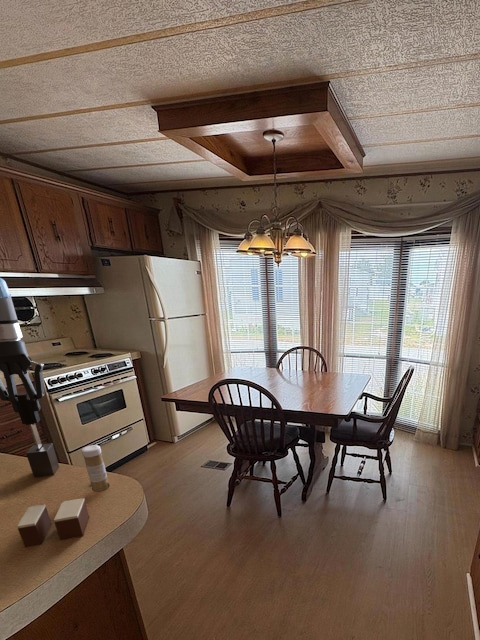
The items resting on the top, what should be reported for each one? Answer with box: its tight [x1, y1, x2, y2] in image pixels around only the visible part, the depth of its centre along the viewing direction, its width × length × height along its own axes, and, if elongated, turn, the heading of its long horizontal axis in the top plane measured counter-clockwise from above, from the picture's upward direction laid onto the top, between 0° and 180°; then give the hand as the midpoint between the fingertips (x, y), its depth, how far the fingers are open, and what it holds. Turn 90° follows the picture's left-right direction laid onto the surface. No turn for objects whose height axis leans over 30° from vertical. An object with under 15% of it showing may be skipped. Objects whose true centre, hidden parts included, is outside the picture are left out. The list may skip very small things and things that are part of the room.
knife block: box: [25, 442, 60, 479], centre depth 105 cm, size 6×5×10 cm
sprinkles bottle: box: [81, 444, 110, 492], centre depth 100 cm, size 5×5×14 cm
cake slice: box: [16, 503, 53, 548], centre depth 81 cm, size 8×3×6 cm, turn 23°
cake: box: [53, 497, 90, 541], centre depth 84 cm, size 8×5×6 cm, turn 23°
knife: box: [16, 391, 43, 451], centre depth 101 cm, size 3×2×20 cm, turn 23°
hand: (31, 421), depth 100 cm, fingers closed on knife, 2 cm apart
